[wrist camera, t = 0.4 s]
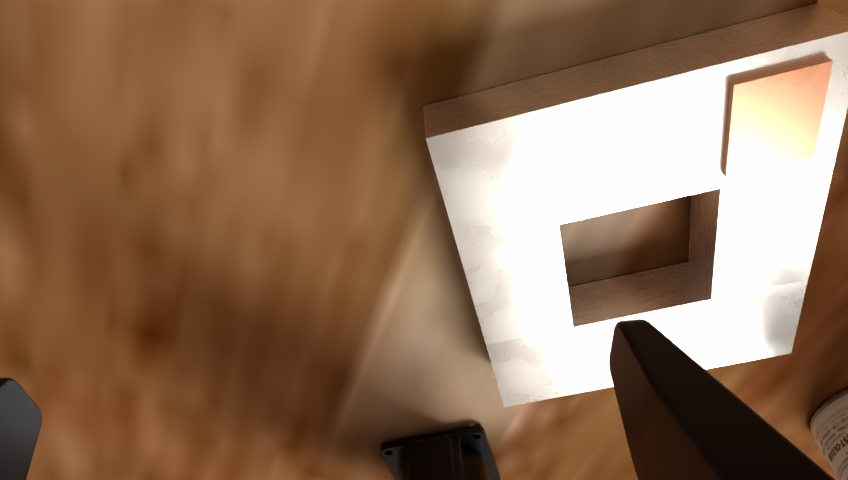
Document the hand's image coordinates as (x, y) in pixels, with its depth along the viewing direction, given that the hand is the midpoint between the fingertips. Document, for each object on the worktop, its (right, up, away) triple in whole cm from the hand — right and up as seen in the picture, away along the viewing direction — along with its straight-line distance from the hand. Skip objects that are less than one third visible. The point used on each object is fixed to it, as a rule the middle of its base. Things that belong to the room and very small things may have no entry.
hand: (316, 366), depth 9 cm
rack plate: (+10, +2, +17) cm, 20 cm away
